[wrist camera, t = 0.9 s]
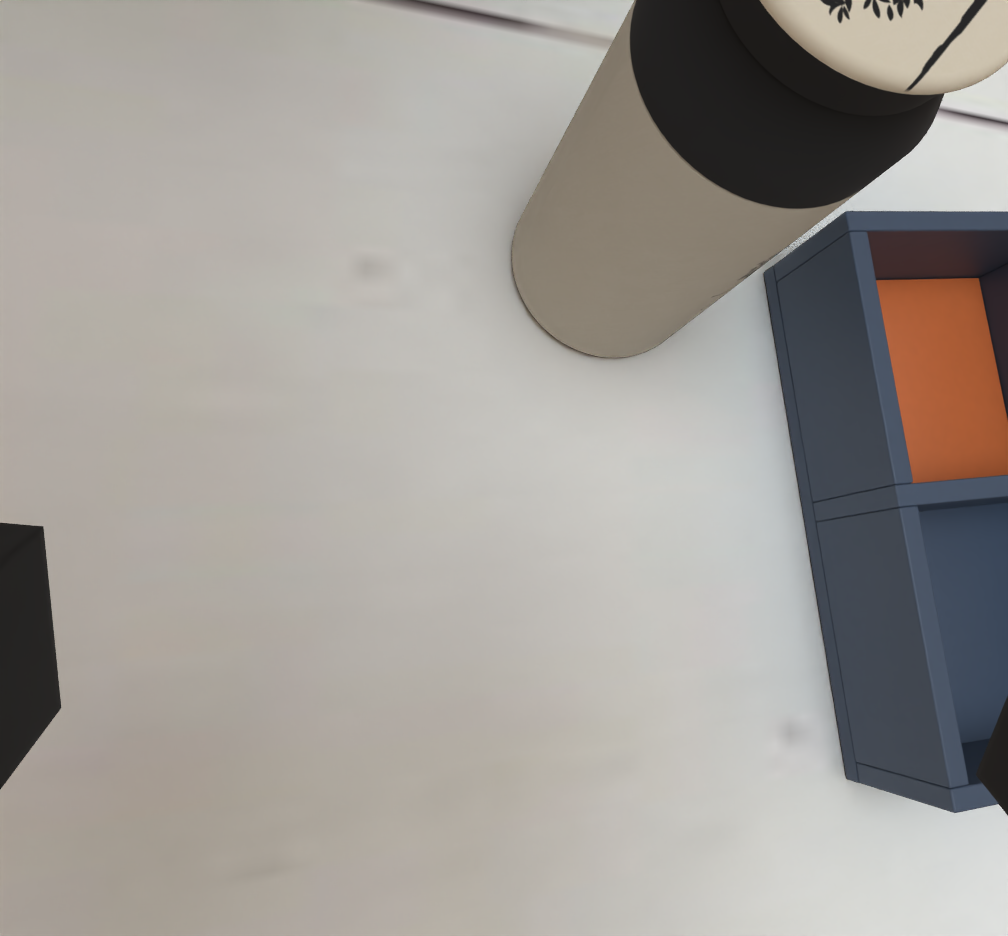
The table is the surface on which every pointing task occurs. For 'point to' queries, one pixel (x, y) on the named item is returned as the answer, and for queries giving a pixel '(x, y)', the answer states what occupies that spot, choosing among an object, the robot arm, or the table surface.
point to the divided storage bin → (904, 484)
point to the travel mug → (729, 149)
